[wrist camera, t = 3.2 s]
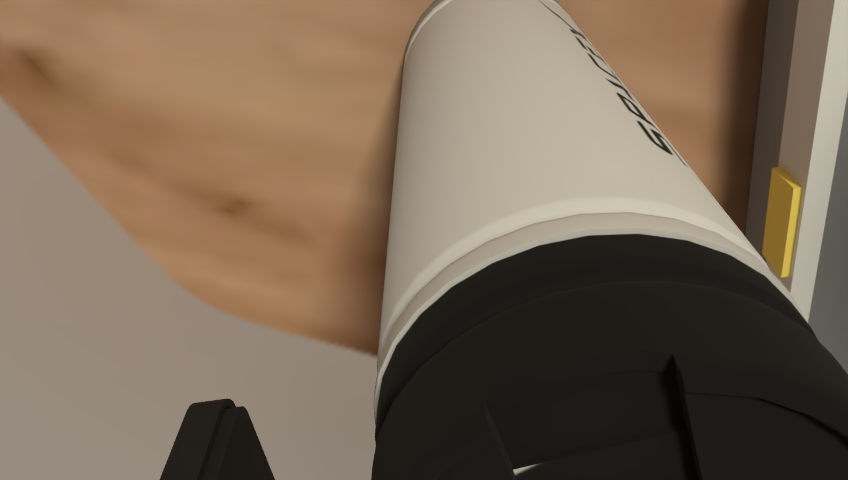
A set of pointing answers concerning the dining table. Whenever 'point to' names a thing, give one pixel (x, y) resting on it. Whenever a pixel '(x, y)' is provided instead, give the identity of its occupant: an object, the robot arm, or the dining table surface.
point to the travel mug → (575, 282)
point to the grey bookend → (805, 163)
